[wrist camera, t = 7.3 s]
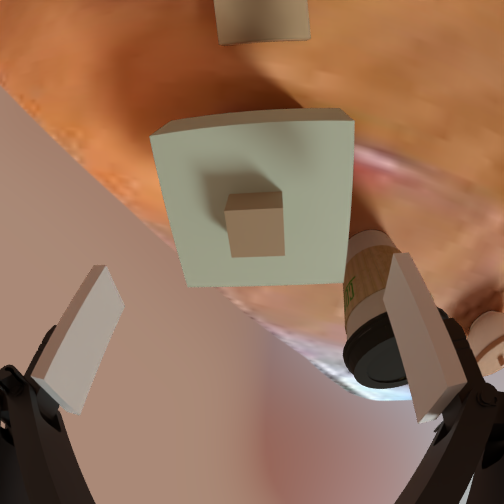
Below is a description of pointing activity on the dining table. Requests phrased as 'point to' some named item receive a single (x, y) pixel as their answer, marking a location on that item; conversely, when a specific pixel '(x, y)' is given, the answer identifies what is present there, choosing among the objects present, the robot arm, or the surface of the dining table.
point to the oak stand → (261, 21)
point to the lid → (258, 195)
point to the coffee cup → (371, 313)
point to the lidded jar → (488, 341)
